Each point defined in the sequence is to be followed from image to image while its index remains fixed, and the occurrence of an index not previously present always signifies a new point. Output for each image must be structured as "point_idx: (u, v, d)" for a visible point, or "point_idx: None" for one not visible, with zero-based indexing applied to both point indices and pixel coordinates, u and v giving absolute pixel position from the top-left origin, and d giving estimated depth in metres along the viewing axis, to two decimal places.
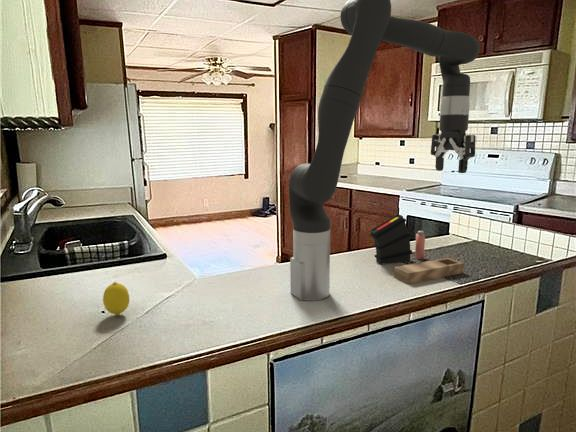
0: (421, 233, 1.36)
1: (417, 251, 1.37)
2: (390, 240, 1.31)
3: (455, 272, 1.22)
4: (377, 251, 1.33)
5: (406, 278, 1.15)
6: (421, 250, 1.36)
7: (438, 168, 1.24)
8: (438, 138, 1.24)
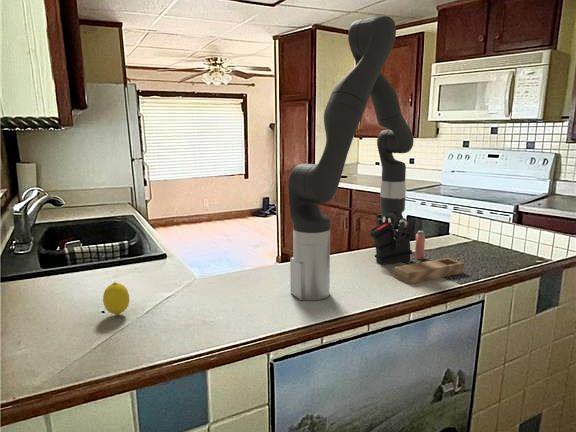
0: (421, 233, 1.36)
1: (417, 251, 1.37)
2: (390, 240, 1.31)
3: (455, 272, 1.22)
4: (377, 251, 1.33)
5: (406, 278, 1.15)
6: (421, 250, 1.36)
7: None
8: (381, 217, 1.36)
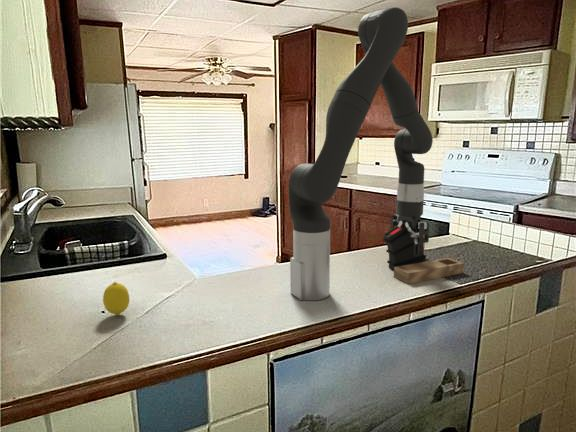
0: None
1: None
2: (404, 245, 1.26)
3: (455, 272, 1.22)
4: (390, 257, 1.27)
5: (406, 278, 1.15)
6: None
7: None
8: (396, 218, 1.29)
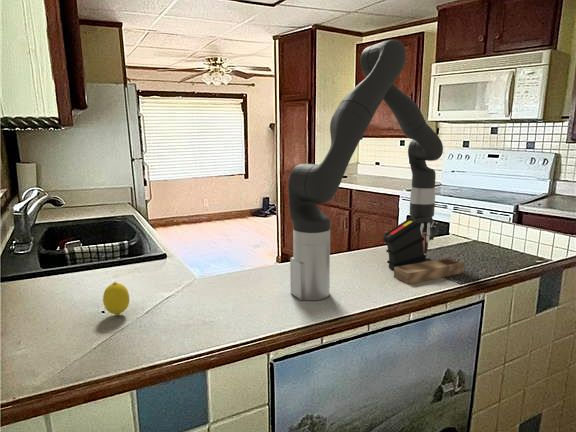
0: None
1: None
2: (404, 245, 1.26)
3: (455, 272, 1.22)
4: (390, 257, 1.27)
5: (406, 278, 1.15)
6: None
7: None
8: None
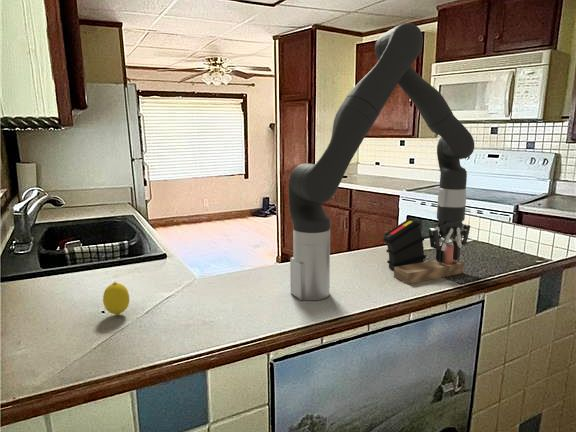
0: (449, 244, 1.22)
1: None
2: (404, 245, 1.26)
3: (455, 272, 1.22)
4: (390, 257, 1.27)
5: (406, 278, 1.15)
6: (449, 262, 1.23)
7: None
8: None
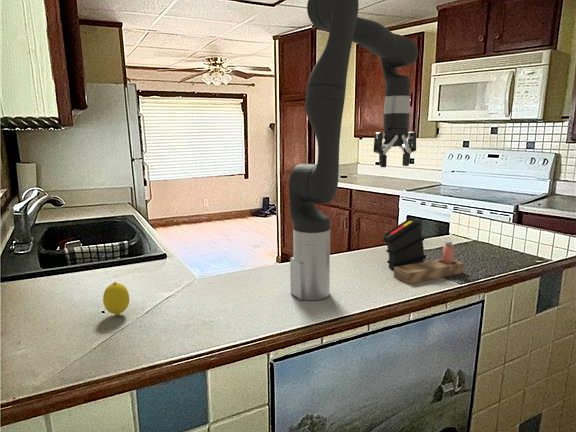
0: (449, 244, 1.22)
1: None
2: (404, 245, 1.26)
3: (455, 272, 1.22)
4: (390, 257, 1.27)
5: (406, 278, 1.15)
6: (449, 262, 1.23)
7: (403, 163, 1.32)
8: None
